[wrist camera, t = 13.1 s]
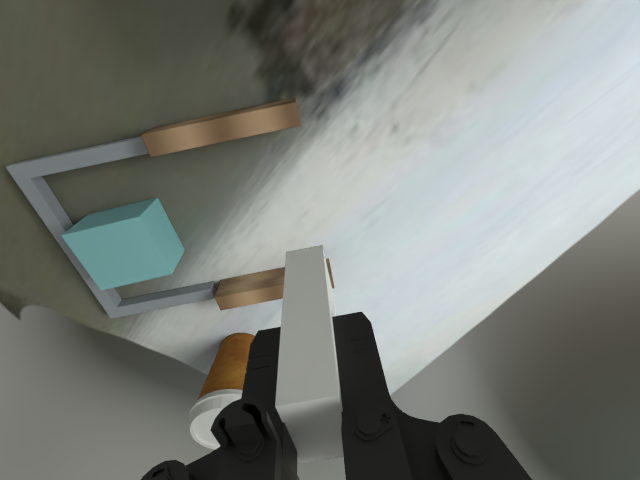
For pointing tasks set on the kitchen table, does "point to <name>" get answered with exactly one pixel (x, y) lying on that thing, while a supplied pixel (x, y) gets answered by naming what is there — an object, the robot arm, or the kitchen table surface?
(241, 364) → the disposable coffee cup
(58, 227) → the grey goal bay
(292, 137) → the kitchen table surface
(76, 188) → the kitchen table surface
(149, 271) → the teal block
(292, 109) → the wooden guide rails
